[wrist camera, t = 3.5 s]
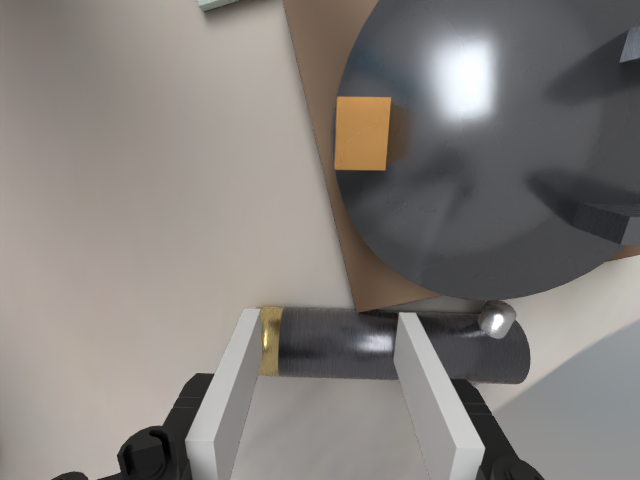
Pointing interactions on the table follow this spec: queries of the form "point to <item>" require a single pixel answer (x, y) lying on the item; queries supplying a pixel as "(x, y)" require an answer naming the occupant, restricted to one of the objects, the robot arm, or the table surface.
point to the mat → (213, 3)
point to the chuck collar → (492, 140)
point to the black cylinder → (392, 343)
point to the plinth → (320, 91)
